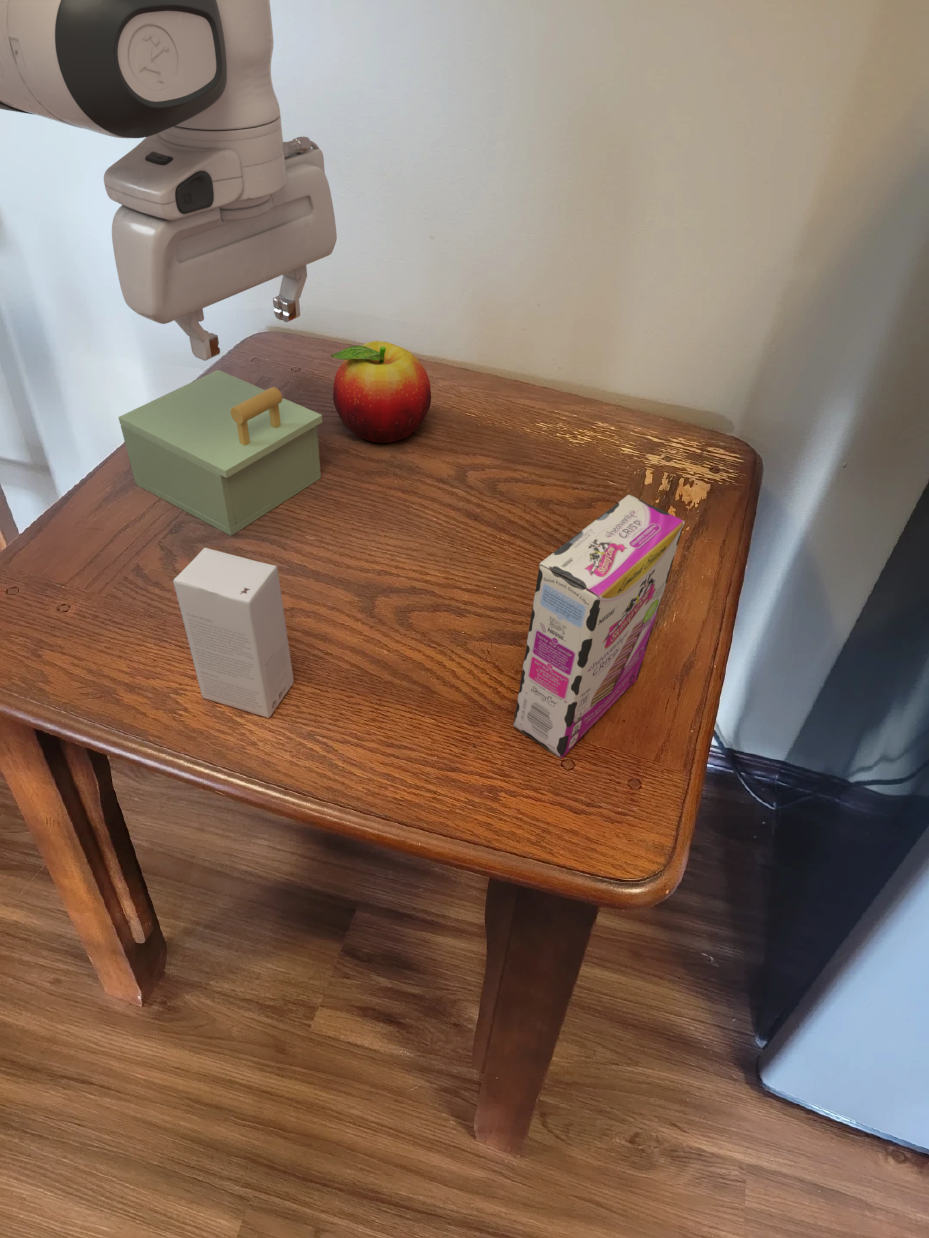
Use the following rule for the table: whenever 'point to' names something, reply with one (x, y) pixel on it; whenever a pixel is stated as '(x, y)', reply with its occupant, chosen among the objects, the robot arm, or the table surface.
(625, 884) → the table surface
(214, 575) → the cosmetic box
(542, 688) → the candy bar box
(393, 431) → the fruit
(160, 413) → the lid
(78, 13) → the robot arm
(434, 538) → the table surface
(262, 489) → the chest
